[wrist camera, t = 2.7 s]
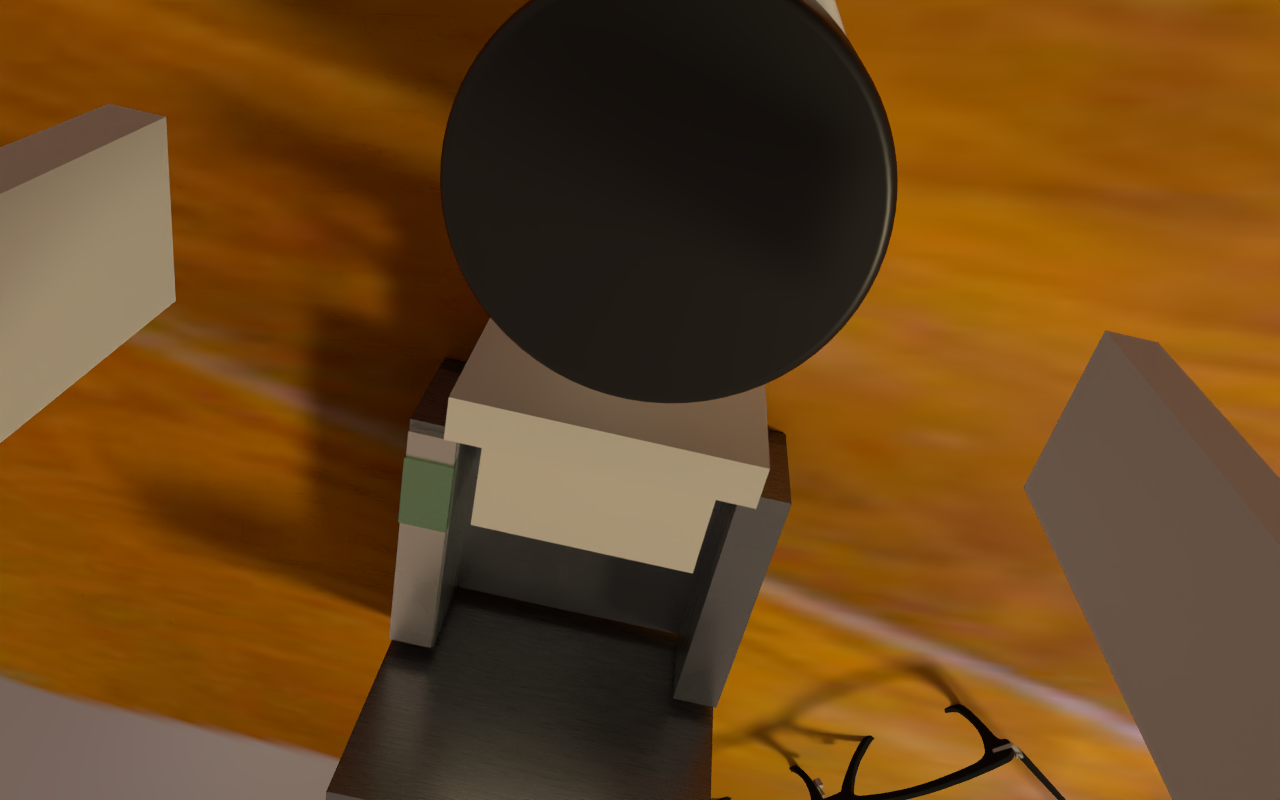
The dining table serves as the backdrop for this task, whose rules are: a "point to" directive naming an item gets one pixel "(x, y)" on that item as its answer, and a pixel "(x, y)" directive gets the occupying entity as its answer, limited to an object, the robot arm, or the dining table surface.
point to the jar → (669, 189)
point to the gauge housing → (547, 647)
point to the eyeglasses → (994, 757)
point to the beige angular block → (602, 458)
